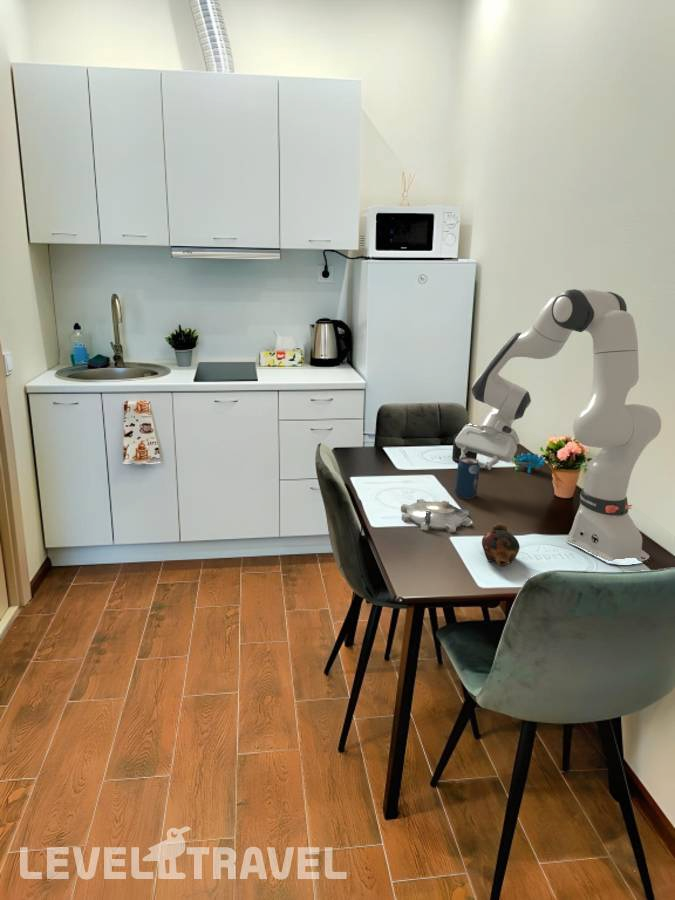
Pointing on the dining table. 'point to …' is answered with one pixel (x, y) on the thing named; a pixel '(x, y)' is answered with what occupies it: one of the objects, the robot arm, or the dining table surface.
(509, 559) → the decorative turtle
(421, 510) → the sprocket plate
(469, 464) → the soda can
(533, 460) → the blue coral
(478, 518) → the dining table surface
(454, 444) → the pen holder
